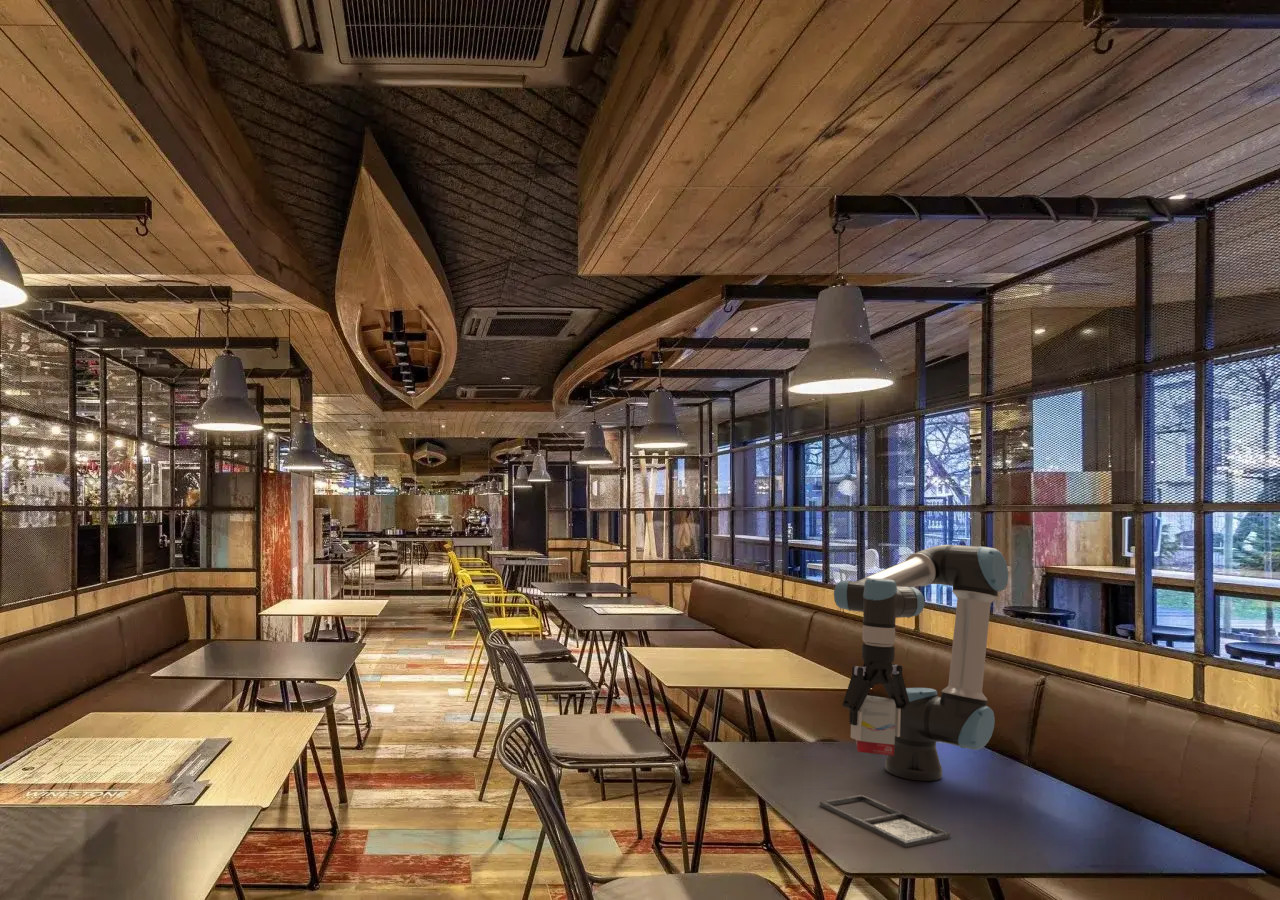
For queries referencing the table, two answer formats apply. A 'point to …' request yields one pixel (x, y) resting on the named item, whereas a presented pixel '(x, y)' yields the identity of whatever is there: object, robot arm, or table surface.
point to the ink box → (877, 726)
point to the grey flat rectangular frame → (890, 823)
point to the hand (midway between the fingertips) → (875, 737)
